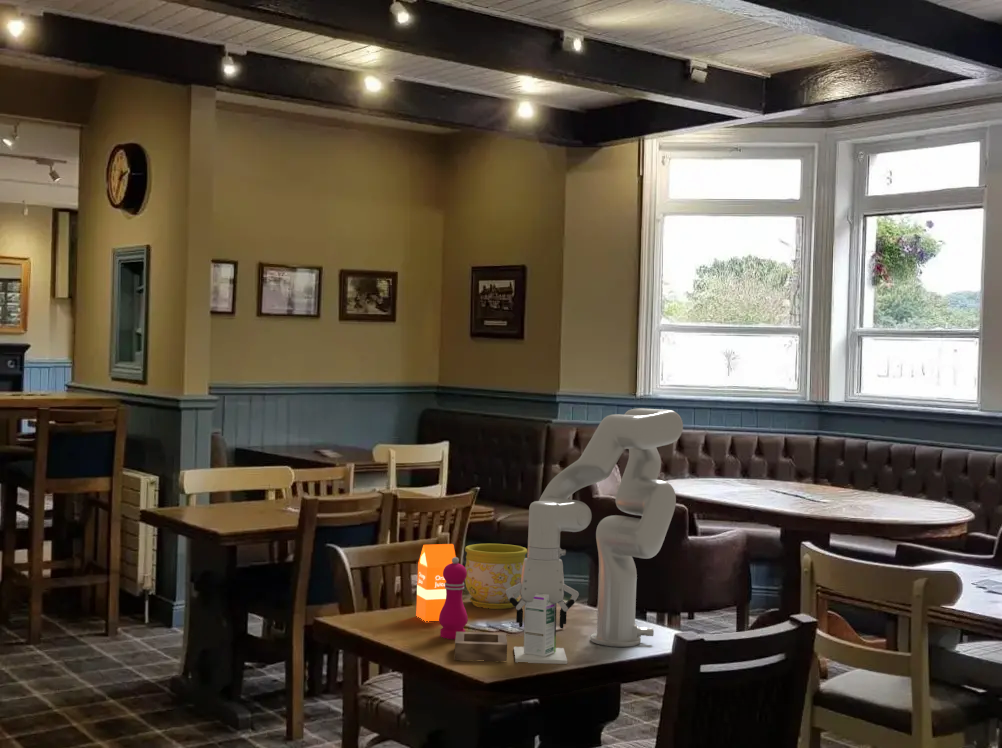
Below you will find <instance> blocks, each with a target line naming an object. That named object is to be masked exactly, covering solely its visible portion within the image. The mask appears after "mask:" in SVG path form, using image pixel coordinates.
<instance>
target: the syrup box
mask: <svg viewBox="0 0 1002 748" xmlns="http://www.w3.org/2000/svg"><path fill="white" fill-rule="evenodd" d="M557 605H558V603H550V599H549V595H548V594H538V593H536V595H535V596H534V599H533V602H526V603H525V605H524V612H523V622H524V624H523V628H524V629H523V630H524V631H523V647H524V653H525V654H528V655H534V656H540V657H546V656H547V655H550V654H552V653H555V652H556V648H557V643H556V642H557Z"/></svg>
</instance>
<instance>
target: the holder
mask: <svg viewBox="0 0 1002 748" xmlns="http://www.w3.org/2000/svg"><path fill="white" fill-rule="evenodd" d="M507 659H508V639H507V632H488V631H487V632H484V631H465V632H457V631H456V639H454V660H467V661H466V662H470V661H469V660H484V661H483V662H486V661H507V662H508V660H507Z"/></svg>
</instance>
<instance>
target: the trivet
mask: <svg viewBox="0 0 1002 748" xmlns="http://www.w3.org/2000/svg"><path fill="white" fill-rule="evenodd" d="M513 654H514V655H515V656H514V661H515V663H518V662H528V663H527V664H552V665H553V664H554V665H555V664H556V665H557V664H559V665H567V664H568V658H567V655H566V652H565V648H564V647H556V652H555V653H552V654H550V655H547V656H546V657H540V656H534V655H528V654H525V653H524V646H513Z"/></svg>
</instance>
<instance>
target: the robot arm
mask: <svg viewBox="0 0 1002 748" xmlns="http://www.w3.org/2000/svg"><path fill="white" fill-rule="evenodd" d="M681 417H682V416H680V414H678V412H676V411H674V410H672V409H660V408H659V409H658V408H655V409H654V408H643V407H641V408H640V407H639V408H638V407H637V408H632V409H629V410H627V411H626V412H625V413H624V414H622V413H621V414H618V413H617V414H609V415H606V416H605V417H604V418H603V419H602V420H601V421H600V423H599V424H598V426H597V428H596V429H595V431H594V433H593V435H592V437H591V439H590V440H589V442H588V443H587V445H586V446H585V448H584V450H583V452H582V454H581V455H580V457H578V459H577V460H575V461H574V462H573V463H571V464H570V465H568V466H566V467H565V468H564V469H563V470H562V471H560V472H559V473H558V474H556V475H555V476H554V477H553V478H552V479H551V480H550V481H549V483H547V486H546V487H545V489H544V491H543V492H542V494H541V496H540V498H539V499H538V500H534V501H533V502H531V503H530V505H529V509H528V530H527V531H528V533H527V534H528V537H527V557H525V559H524V562H523V567H522V576H521V583H519V584H516V585H514V586H512V587H510V588H508V589H506V594H507V597H508V599H509V601H510V602H511V604H512V605H513V606H514V607H513V608H515V610H516V617H515V618H516V621H515V622H516V623H517V624H518V626H519V628H522V627H523V626H524V624H523V622H524V610H523V607H525V603H526V602H533V599H534V596H535V595H536V593H538V594H548V595H549V599H550V603H557V605H559V607H560V610H559V628H560V629H564V625H567V612H568V610H569V609H570V608H571V607H572V606H574V605H575V603H576V601H577V599H578V597H579V595H580V593H579V591H577V590H576V589H574V588H572V587H571V586H568V585H567V584H565V578H564V576H565V575H564V564H563V560H562V559H561V557H562V556H566V553H567V550H566V549H562V548H561V532H570V533H571V532H572V533H577V532H581V531H583V530H586V529H587V528H588V526H589V525H590V524H591V521H592V518H593V517H592V516H593V515H592V510H591V509H590V507H589V506H588V505H587V504H586V503H585V502H583V501H580V500H577V499H569V498H570V496H572V495H573V494H574V493H575V492H577V491H579V490H581V489H583V488H586V487H588V486H591V485H594V484H595V485H596V484H597V483H599V482H603V481H605V480H607V479H608V478H609V477H610V476H611V474H612V472H613V470H614V469H615V467H616V464H617V463H618V461H619V460H620V458H621V457H622V454H623V452H624V451H625V450H628V460H627V462H626V463H627V464H626V465H625V468H624V472H623V474H622V477H621V480H620V483H619V485H618V488H617V491H616V495H615V505H616V508H617V509H618V510H620V511H621V512H623V513H626V514H629V515H634V516H641V518H636V517H632V516H625V515H617V514H615V515H608V516H606V517H604V518H602V519H600V521H599V522H598V525H597V527H596V531H595V539H596V540H595V541H596V546H597V552H598V584H597V585H598V589H597V592H598V594H597V613H596V614H597V615H596V616H597V617H596V618H597V619H596V620H597V621H596V632H594V633H591V635H590V638H589V639H590V641H591V642H592V643H594V644H597V645H600V646H607V647H614V648H615V647H619V648H620V647H621V648H623V647H625V648H626V647H634V646H638V645H640V644H641V637H642V636H646V637H654V636H655V635H654V634H655V633H654V631H655V630H654V628H650V627H645V626H643V627H641V626H638V625H637V623H636V606H637V605H636V604H637V603H636V602H637V600H636V599H637V579H638V577H637V576H638V574H637V573H638V572H637V568H636V563H635V561H634V560H635V559H634V558H639V559H646V560H647V559H652V558H653V557H655V556H657V554H658V553H659V552H660V551H661V548H662V546H663V545H664V544H663V543H664V541H665V537H666V536H667V532H668V530H669V528H670V524H671V521H672V518H673V516H674V514H675V513H674V512H675V509H676V503H677V500H676V499H677V496H676V495H677V494H676V491H675V489H674V487H673V486H672V485H671V483H670V482H668V481H666V480H665V481H664V480H661V479H658V478H659V474H660V471H661V466H662V460H661V455H660V453H659V451H658V448H659V447H662V446H668V445H671V444H674V443H675V442H676V441H678V440H679V439H680V437H681V436H682V434H683V430H684V423H683V419H682V418H681ZM518 590H520V597H521V598H520V599H519V601H517V600H516V599H515V598H514V597H513V593H514V592H516V591H518ZM565 592H566V593H568V594H570V595H571V596H570V598H569V599H568V600H567V601H566V602H565V600H564V595H565Z"/></svg>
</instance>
